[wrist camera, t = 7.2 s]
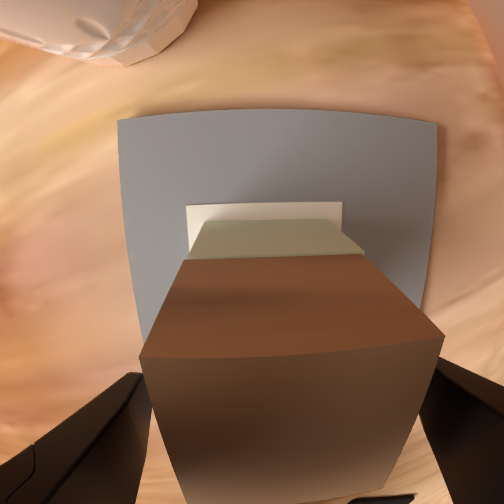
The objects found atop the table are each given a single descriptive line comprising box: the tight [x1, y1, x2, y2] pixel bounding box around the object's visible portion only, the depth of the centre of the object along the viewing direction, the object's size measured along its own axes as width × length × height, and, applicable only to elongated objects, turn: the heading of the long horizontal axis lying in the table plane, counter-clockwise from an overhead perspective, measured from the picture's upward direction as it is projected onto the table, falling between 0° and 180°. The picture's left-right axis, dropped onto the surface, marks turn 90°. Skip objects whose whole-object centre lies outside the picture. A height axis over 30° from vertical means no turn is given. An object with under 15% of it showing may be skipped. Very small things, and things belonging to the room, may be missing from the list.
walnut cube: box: [139, 254, 445, 504], centre depth 7 cm, size 5×5×4 cm
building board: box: [117, 109, 438, 344], centre depth 15 cm, size 16×14×1 cm
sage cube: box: [187, 219, 365, 260], centre depth 12 cm, size 5×5×4 cm
